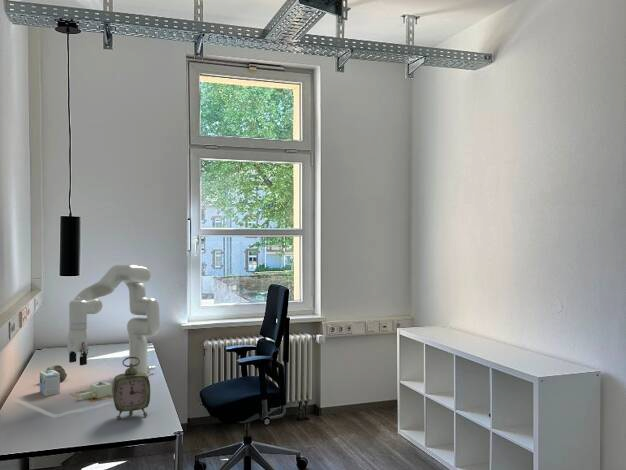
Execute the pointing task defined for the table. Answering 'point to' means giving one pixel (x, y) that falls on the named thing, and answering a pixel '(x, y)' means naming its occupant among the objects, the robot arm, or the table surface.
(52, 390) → the light bulb box
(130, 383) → the tabletop clock
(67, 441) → the table surface
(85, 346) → the robot arm
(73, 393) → the board
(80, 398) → the hollow frame with stem
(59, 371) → the carved stone stamp
